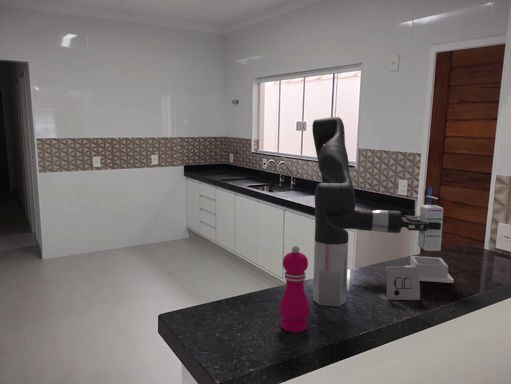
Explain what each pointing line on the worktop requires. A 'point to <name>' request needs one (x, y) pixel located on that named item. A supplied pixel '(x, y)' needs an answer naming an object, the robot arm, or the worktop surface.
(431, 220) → the syrup box
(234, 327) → the worktop surface
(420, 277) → the socket plate
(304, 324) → the pepper mill
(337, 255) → the robot arm
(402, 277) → the electrical switch
